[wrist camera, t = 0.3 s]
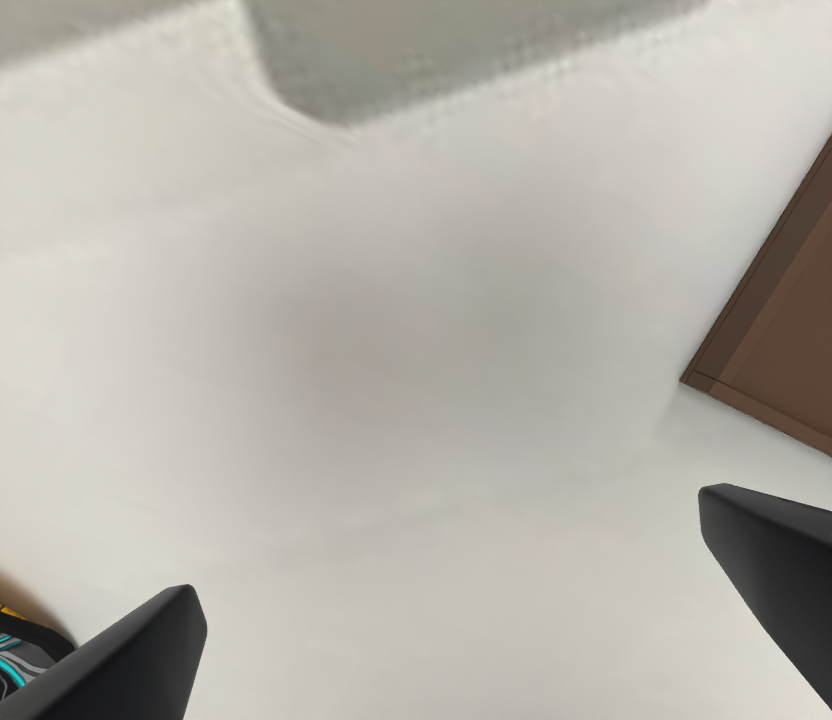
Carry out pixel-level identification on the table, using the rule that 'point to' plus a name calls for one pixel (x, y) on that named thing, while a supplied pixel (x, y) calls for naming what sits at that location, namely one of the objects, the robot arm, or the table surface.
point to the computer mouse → (26, 650)
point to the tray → (781, 324)
